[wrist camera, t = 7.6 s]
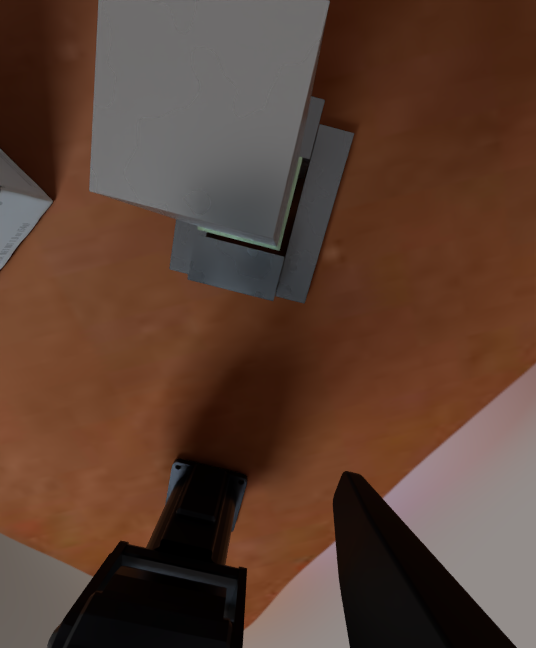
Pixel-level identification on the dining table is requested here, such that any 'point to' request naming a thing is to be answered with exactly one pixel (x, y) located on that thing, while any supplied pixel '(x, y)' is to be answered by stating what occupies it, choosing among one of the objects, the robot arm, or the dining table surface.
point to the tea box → (17, 206)
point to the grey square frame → (306, 237)
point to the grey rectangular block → (205, 109)
